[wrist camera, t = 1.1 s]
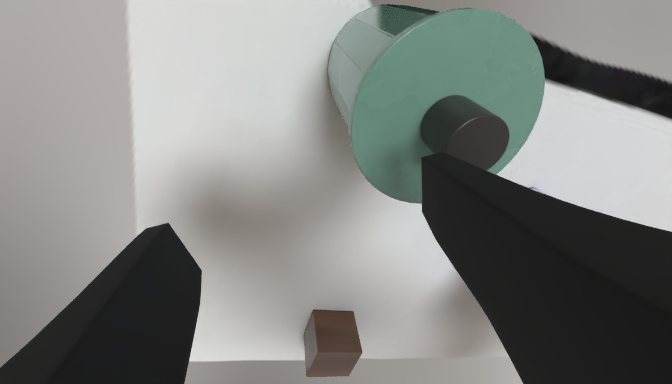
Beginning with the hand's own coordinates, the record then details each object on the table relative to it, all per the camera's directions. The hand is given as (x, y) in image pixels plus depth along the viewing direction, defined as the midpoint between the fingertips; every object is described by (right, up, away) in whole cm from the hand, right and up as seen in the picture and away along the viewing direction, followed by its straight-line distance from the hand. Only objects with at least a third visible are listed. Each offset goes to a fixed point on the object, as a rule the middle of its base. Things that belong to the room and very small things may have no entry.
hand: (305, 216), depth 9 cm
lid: (+5, +4, +2) cm, 6 cm away
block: (0, -12, +21) cm, 24 cm away
